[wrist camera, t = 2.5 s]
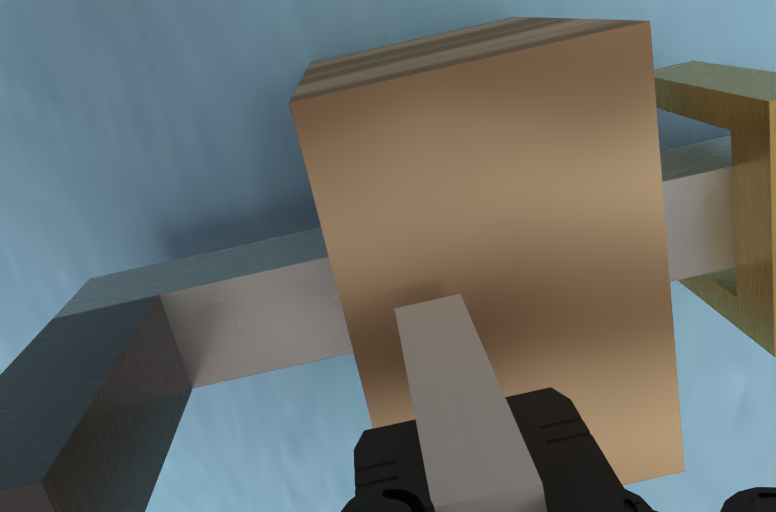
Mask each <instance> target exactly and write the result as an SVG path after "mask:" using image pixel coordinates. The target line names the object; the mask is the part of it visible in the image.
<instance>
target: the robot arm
mask: <svg viewBox="0 0 776 512" xmlns="http://www.w3.org/2000/svg"><path fill="white" fill-rule="evenodd" d="M395 314H396V319H397V324H398V329H399V335H400V340H401V345H402V351H403V356H404V361H405V366H406V372H407V377H408V382H409V387H410V393H411V398H412V403H413V409H414V414H415V419H414V420H410V421H405V422H401V423H396V424H392V425H387V426H383V427H378V428H374V429H369V430H365V431H364V432H363V434H362V436H361V437H360V439H359V441H358V443H357V445H356V447H355V449H354V469H355V487H356V489H355V497H354V498H352V499H351V500H350V501H349V502H348V503H347V504H346V506H345V507H344V508H343V509H342V511H341V512H658V511H654V510H652V508H651V507H650V506H649V505H648V504H647V503H646V502H645V501H644V500H643V499H642V498H641V497H640V496H638V495H636V494H634V493H632V492H630V491H628V490H626V489H624V487H623V485H622V484H621V482H620V480H619V479H618V477H617V475H616V474H615V472H614V470H613V469H612V467H611V465H610V464H609V462H608V460H607V459H606V457H605V455H604V454H603V452H602V450H601V449H600V447H599V445H598V444H597V442H596V440H595V439H594V437H593V435H591V434H590V430H589V429H588V427H587V426H586V424H585V422H584V421H583V420H582V418H581V416H580V414H579V412H578V411H577V409H576V407H575V406H574V404H573V402H572V401H571V399H569V398H568V397H566V396H564V395H563V394H561V393H560V392H558V391H556V390H555V389H553V388H552V387H549V388H544V389H540V390H535V391H531V392H526V393H522V394H517V395H513V396H508V397H505V396H504V394H503V391H502V389H501V387H500V384H499V382H498V380H497V377H496V375H495V373H494V370H493V368H492V366H491V364H490V361H489V359H488V357H487V354H486V352H485V350H484V347H483V345H482V343H481V340H480V338H479V336H478V334H477V331H476V329H475V327H474V324H473V322H472V320H471V317H470V315H469V313H468V310H467V308H466V306H465V303H464V301H463V299H462V297H461V294H457V295H453V296H448V297H444V298H439V299H435V300H430V301H426V302H421V303H417V304H412V305H408V306H403V307H399V308H395ZM720 512H776V488H773V487H755V488H751V489H747V490H743V491H739V492H737V493H736V494H734V495H733V496H731V497H730V498H729V499H727V500H726V501H725V502H724V505H723V507H722V509H721V511H720Z"/></svg>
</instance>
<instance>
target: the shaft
mask: <svg viewBox="0 0 776 512" xmlns="http://www.w3.org/2000/svg"><path fill="white" fill-rule="evenodd" d="M660 160H661V173H662V186H663V199H664V212H665V225H666V238H667V251H668V264H669V277H670V282H671V281H675V280H680V279H684V278H689V277H693V276H698V275H702V274H707V273H711V272H716V271H720V270H725V269H729V268H734V267H736V253H735V229H734V204H733V180H732V155H731V135H728V136H723V137H719V138H715V139H710V140H706V141H701V142H697V143H692V144H688V145H683V146H679V147H674V148H670V149H666V150H661V151H660ZM348 353H353V348H352V344H351V340H350V336H349V333H348V329H347V325H346V321H345V317H344V313H343V309H342V306H341V302H340V298H339V294H338V290H337V286H336V282H335V278H334V275H333V271H332V267H331V263H330V259H329V255H328V251H327V248H326V244H325V240H324V236H323V232H322V228H321V227H318V228H314V229H310V230H305V231H301V232H296V233H292V234H287V235H283V236H278V237H274V238H269V239H265V240H261V241H256V242H252V243H247V244H243V245H238V246H234V247H229V248H225V249H220V250H216V251H212V252H207V253H203V254H198V255H194V256H189V257H185V258H180V259H176V260H172V261H167V262H163V263H158V264H154V265H149V266H145V267H140V268H136V269H131V270H127V271H123V272H118V273H114V274H109V275H105V276H100V277H96V278H91V279H89V280H88V281H87V282H86V283H85V285H84V286H83V287H82V288H81V289H80V290H79V291H78V292H77V293H76V294H75V295H74V296H73V297H72V298H71V300H70V301H69V302H68V303H67V304H66V305H65V306H64V307H63V308H62V309H61V310H60V311H59V312H58V314H57V315H56V316H55V317H54V318H53V319H52V320H51V321H50V322H49V323H48V324H47V325H46V326H45V328H44V329H43V330H42V331H41V332H40V333H39V334H38V335H37V336H36V337H35V338H34V339H33V340H32V342H31V343H30V344H29V345H28V346H27V347H26V348H25V349H24V350H23V351H22V352H21V353H20V354H19V355H18V357H17V358H16V359H15V360H14V361H13V362H12V363H11V364H10V365H9V366H8V367H7V368H6V369H5V371H4V372H3V373H2V374H1V375H0V512H145V510H146V508H147V505H148V502H149V500H150V497H151V495H152V492H153V489H154V487H155V484H156V482H157V479H158V476H159V474H160V471H161V469H162V466H163V464H164V461H165V458H166V456H167V453H168V451H169V448H170V445H171V443H172V440H173V438H174V435H175V433H176V430H177V427H178V425H179V422H180V420H181V417H182V414H183V412H184V409H185V407H186V404H187V402H188V399H189V396H190V394H191V391H192V389H193V388H196V387H201V386H205V385H210V384H214V383H218V382H223V381H227V380H232V379H236V378H241V377H245V376H250V375H254V374H259V373H263V372H268V371H272V370H277V369H281V368H286V367H290V366H295V365H299V364H304V363H308V362H313V361H317V360H321V359H326V358H330V357H335V356H339V355H344V354H348Z"/></svg>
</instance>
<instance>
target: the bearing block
mask: <svg viewBox="0 0 776 512" xmlns="http://www.w3.org/2000/svg"><path fill="white" fill-rule="evenodd" d="M289 105H290V108H291V112H292V116H293V120H294V124H295V128H296V132H297V135H298V139H299V143H300V147H301V151H302V155H303V159H304V163H305V166H306V170H307V174H308V178H309V182H310V186H311V190H312V193H313V197H314V201H315V205H316V209H317V213H318V217H319V220H320V224H321V228H322V232H323V236H324V240H325V244H326V248H327V251H328V255H329V259H330V263H331V267H332V271H333V275H334V278H335V282H336V286H337V290H338V294H339V298H340V302H341V306H342V309H343V313H344V317H345V321H346V325H347V329H348V333H349V336H350V340H351V344H352V348H353V352H354V356H355V360H356V363H357V367H358V371H359V375H360V379H361V383H362V387H363V391H364V394H365V398H366V402H367V406H368V410H369V414H370V418H371V421H372V425H373V429H374V428H378V427H383V426H387V425H392V424H396V423H401V422H405V421H410V420H414V419H415V414H414V409H413V403H412V398H411V393H410V387H409V382H408V377H407V372H406V366H405V361H404V356H403V351H402V345H401V340H400V335H399V329H398V324H397V319H396V314H395V308H399V307H403V306H408V305H412V304H417V303H421V302H426V301H430V300H435V299H439V298H444V297H448V296H453V295H457V294H461V297H462V299H463V301H464V303H465V306H466V308H467V310H468V313H469V315H470V317H471V320H472V322H473V324H474V327H475V329H476V331H477V334H478V336H479V338H480V340H481V343H482V345H483V347H484V350H485V352H486V354H487V357H488V359H489V361H490V364H491V366H492V368H493V370H494V373H495V375H496V377H497V380H498V382H499V384H500V387H501V389H502V391H503V394H504V396H505V397H508V396H513V395H517V394H522V393H526V392H531V391H535V390H540V389H544V388H549V387H552V388H553V389H555V390H556V391H558V392H560V393H561V394H563V395H564V396H566V397H568V398H569V399H571V401H572V402H573V404H574V406H575V407H576V409H577V411H578V412H579V414H580V416H581V418H582V420H583V421H584V422H585V424H586V426H587V427H588V429H589V430H590V434H591V435H593V437H594V439H595V440H596V442H597V444H598V445H599V447H600V449H601V450H602V452H603V454H604V455H605V457H606V459H607V460H608V462H609V464H610V465H611V467H612V469H613V470H614V472H615V474H616V475H617V477H618V479H619V480H620V482H621V484H622V485H626V484H631V483H635V482H640V481H644V480H649V479H653V478H658V477H662V476H667V475H671V474H676V473H680V472H685V471H684V458H683V445H682V432H681V419H680V406H679V393H678V380H677V367H676V354H675V341H674V328H673V315H672V303H671V290H670V277H669V264H668V251H667V238H666V225H665V212H664V199H663V186H662V173H661V160H660V147H659V134H658V121H657V108H656V95H655V82H654V69H653V56H652V43H651V30H650V21H632V20H599V19H566V18H534V17H513V18H509V19H504V20H500V21H496V22H491V23H487V24H482V25H478V26H474V27H469V28H465V29H460V30H456V31H451V32H447V33H443V34H438V35H434V36H429V37H425V38H421V39H416V40H412V41H407V42H403V43H398V44H394V45H390V46H385V47H381V48H376V49H372V50H368V51H363V52H359V53H354V54H350V55H345V56H341V57H337V58H332V59H328V60H323V61H319V62H315V63H310V65H309V67H308V68H307V70H306V72H305V74H304V76H303V78H302V80H301V81H300V83H299V85H298V87H297V89H296V91H295V92H294V94H293V96H292V98H291V100H290V102H289Z"/></svg>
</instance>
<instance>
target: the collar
mask: <svg viewBox="0 0 776 512" xmlns="http://www.w3.org/2000/svg"><path fill="white" fill-rule="evenodd" d="M654 82H655V95H656V108H658V109H662V110H665V111H668V112H672V113H675V114H678V115H682V116H685V117H688V118H691V119H695V120H698V121H701V122H705V123H708V124H711V125H715V126H718V127H721V128H724V129H728V130H730V131H731V155H732V180H733V204H734V229H735V253H736V267H734V268H729V269H725V270H720V271H716V272H711V273H707V274H702V275H698V276H693V277H689V278H684V279H680V280H678V281H679V282H681V283H682V284H683V285H684V286H686V287H687V288H688V289H689V290H691V291H692V292H693V293H694V294H696V295H697V296H698V297H699V298H701V299H702V300H703V301H705V302H706V303H707V304H708V305H710V306H711V307H712V308H713V309H715V310H716V311H717V312H718V313H720V314H721V315H722V316H723V317H725V318H726V319H727V320H729V321H730V322H731V323H732V324H734V325H735V326H736V327H737V328H739V329H740V330H741V331H742V332H744V333H745V334H746V335H747V336H749V337H750V338H751V339H753V340H754V341H755V342H756V343H758V344H759V345H760V346H761V347H763V348H764V349H765V350H766V351H768V352H769V353H770V354H771V355H773V356H774V357H776V72H770V71H763V70H756V69H749V68H741V67H734V66H727V65H720V64H713V63H705V62H698V61H690V62H686V63H681V64H677V65H672V66H668V67H663V68H659V69H654Z"/></svg>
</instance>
